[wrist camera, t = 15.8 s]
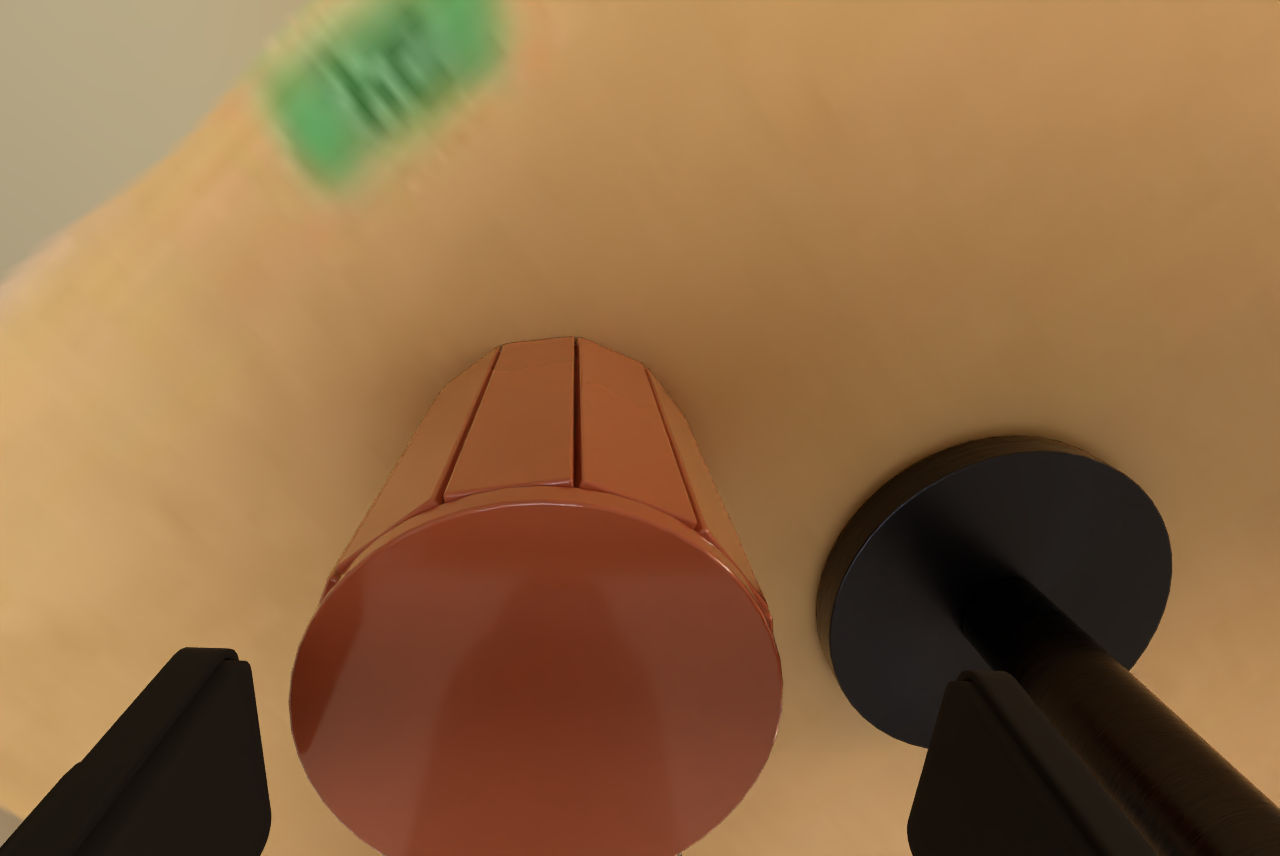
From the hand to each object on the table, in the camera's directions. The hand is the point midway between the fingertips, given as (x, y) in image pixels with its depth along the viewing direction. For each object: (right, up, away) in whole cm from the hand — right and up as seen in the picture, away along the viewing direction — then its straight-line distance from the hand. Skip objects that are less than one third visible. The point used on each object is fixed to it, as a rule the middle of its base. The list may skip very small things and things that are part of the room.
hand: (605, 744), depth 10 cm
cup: (-2, +3, +9) cm, 10 cm away
